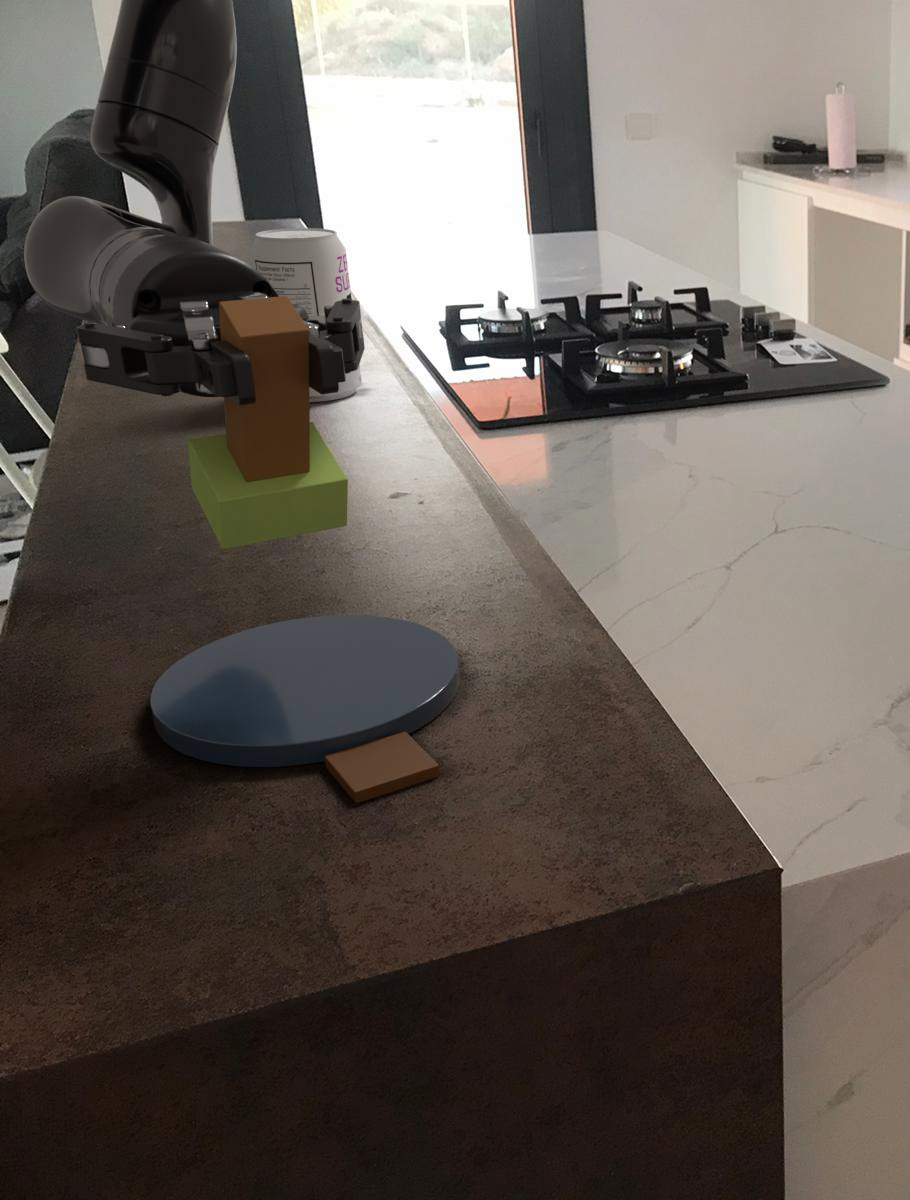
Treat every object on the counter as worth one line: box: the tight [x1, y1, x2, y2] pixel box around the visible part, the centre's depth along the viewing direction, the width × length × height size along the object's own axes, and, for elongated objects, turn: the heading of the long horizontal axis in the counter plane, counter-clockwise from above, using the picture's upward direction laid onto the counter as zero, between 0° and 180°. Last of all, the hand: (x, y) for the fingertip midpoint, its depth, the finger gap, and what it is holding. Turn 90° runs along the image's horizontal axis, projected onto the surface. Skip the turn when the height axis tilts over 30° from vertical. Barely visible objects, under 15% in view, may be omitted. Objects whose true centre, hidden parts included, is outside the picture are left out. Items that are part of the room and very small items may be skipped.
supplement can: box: [250, 227, 363, 403], centre depth 121 cm, size 8×8×15 cm
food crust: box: [324, 732, 441, 804], centre depth 60 cm, size 4×4×1 cm
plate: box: [149, 614, 461, 768], centre depth 67 cm, size 15×15×1 cm
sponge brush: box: [187, 296, 349, 550], centre depth 61 cm, size 6×5×11 cm
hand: (288, 376), depth 56 cm, fingers closed on sponge brush, 3 cm apart
